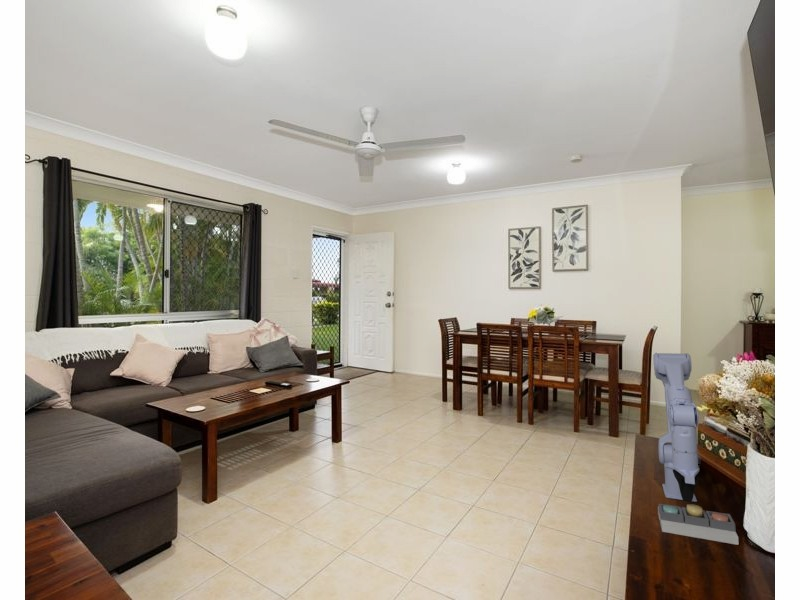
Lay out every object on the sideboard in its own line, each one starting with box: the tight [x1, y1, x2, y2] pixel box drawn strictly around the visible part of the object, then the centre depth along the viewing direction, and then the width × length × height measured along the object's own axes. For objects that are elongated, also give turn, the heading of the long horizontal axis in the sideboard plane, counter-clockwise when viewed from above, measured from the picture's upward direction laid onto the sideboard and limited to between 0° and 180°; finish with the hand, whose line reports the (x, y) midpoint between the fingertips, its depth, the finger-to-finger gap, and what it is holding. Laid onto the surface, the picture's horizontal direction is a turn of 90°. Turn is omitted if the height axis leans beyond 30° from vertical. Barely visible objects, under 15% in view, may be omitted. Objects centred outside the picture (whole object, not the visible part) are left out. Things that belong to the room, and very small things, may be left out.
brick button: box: [712, 511, 728, 522], centre depth 109 cm, size 3×3×2 cm
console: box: [657, 503, 739, 545], centre depth 111 cm, size 10×16×4 cm, turn 64°
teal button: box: [663, 504, 678, 514], centre depth 114 cm, size 3×3×2 cm
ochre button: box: [686, 503, 703, 518], centre depth 111 cm, size 3×3×2 cm
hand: (687, 499), depth 112 cm, fingers closed
